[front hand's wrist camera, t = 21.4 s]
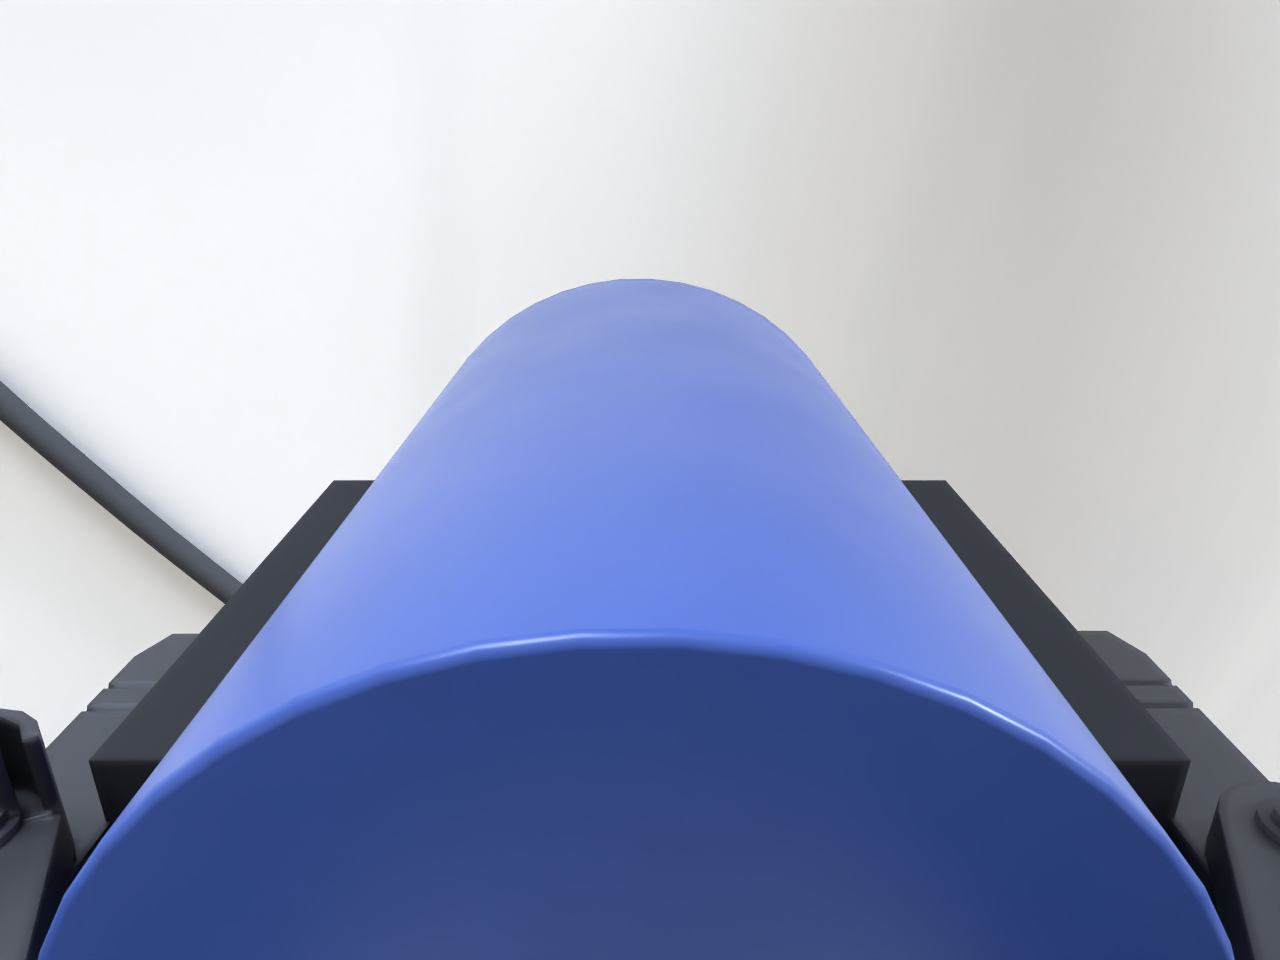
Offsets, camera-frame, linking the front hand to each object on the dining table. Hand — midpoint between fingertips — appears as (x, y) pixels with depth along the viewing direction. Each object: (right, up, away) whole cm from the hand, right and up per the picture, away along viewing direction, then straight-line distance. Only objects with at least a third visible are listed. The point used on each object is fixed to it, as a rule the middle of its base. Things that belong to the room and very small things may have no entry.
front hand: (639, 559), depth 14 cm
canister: (0, +1, +3) cm, 3 cm away
